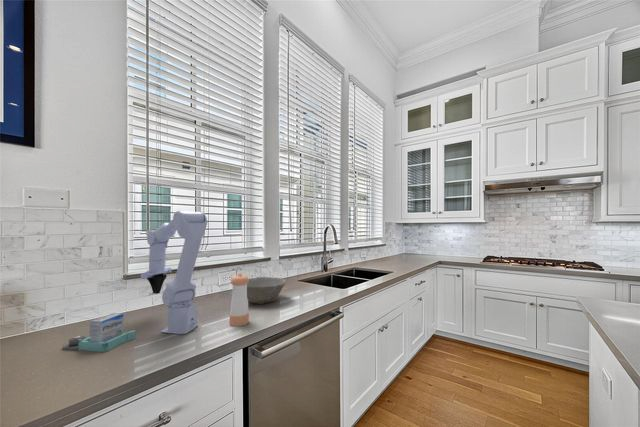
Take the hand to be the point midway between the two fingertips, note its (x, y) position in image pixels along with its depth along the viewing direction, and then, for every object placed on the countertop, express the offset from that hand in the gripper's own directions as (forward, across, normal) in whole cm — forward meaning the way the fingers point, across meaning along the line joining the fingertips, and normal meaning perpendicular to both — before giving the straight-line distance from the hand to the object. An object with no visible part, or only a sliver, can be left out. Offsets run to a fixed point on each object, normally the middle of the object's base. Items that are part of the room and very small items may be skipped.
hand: (156, 293), depth 110 cm
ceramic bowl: (+11, -31, +34) cm, 47 cm away
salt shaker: (+11, -2, +35) cm, 37 cm away
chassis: (+10, +22, -1) cm, 25 cm away
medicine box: (+11, +22, +1) cm, 25 cm away
